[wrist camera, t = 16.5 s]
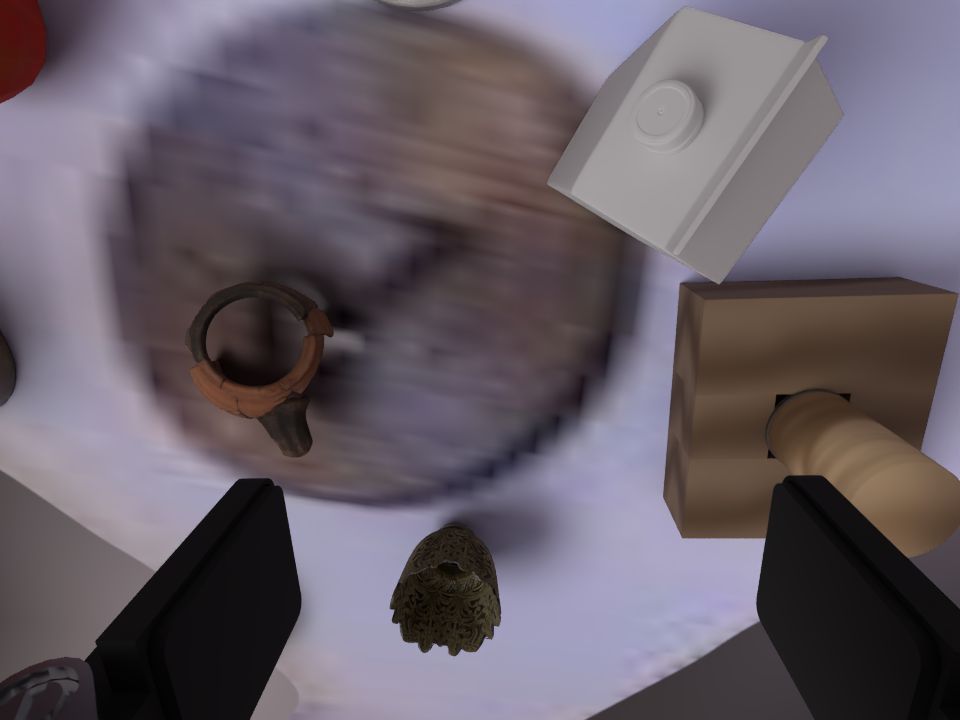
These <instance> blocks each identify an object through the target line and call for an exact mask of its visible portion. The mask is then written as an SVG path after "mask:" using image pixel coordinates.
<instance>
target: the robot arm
mask: <svg viewBox="0 0 960 720" xmlns="http://www.w3.org/2000/svg"><path fill="white" fill-rule="evenodd" d="M375 1H377V2H379V3H381V4H384V5H386V6H388V7H393V8H397V9H402V10H407V11H429V10H434V9H438V8H442V7H447V6H450V5H452V4H454V3H456V2H458V1H460V0H375ZM756 605H757V612H758V616H759V619H760V621H761V623H762V625H763V627H764V629H765V631H766V632H767V634H768V636H769V638H770V640H771V641H772V643H773V645H774V647H775V649H776V651H777V652H778V654H779V656H780V658H781V660H782V661H783V663H784V665H785V667H786V669H787V670H788V672H789V674H790V676H791V678H792V679H793V681H794V683H795V685H796V687H797V688H798V690H799V692H800V694H801V696H802V697H803V699H804V701H805V703H806V705H807V707H808V708H809V710H810V712H811V714H812V716H813V717H814V719H815V720H960V609H959V608H958V607H957V606H956V605H955V604H954V603H953V602H952V601H951V600H950V599H949V598H948V597H947V596H946V595H945V594H944V593H943V592H941V590H940V589H939V588H938V587H936V585H934V584H933V582H931V581H930V580H929V579H928V578H927V577H926V576H925V575H924V574H923V573H922V572H921V571H920V570H919V569H918V568H917V567H916V566H915V565H914V564H913V563H912V562H911V561H910V560H909V559H908V558H907V557H906V556H905V555H904V554H903V553H902V552H901V551H900V550H899V549H898V548H897V547H896V546H895V545H894V544H893V543H892V542H891V541H890V540H889V539H887V538H886V537H885V536H884V535H883V534H882V533H881V532H880V531H879V530H878V529H877V528H876V527H875V526H874V525H873V524H872V523H871V522H870V521H869V520H868V519H867V518H866V517H865V516H864V515H863V514H862V513H861V512H860V511H859V510H858V509H857V508H856V507H855V506H854V505H853V504H852V503H851V502H850V501H849V500H848V499H847V498H846V497H845V496H844V495H842V494H841V493H840V492H839V491H838V490H837V489H836V488H835V487H834V486H833V485H832V484H831V483H830V482H829V481H828V480H827V479H826V478H825V477H823V476H821V475H788V476H786V477H785V478H784V480H783V482H782V483H777V484H776V485H775V486H774V489H773V494H772V500H771V507H770V514H769V520H768V527H767V533H766V540H765V547H764V553H763V560H762V566H761V573H760V580H759V586H758V593H757V601H756ZM300 610H301V592H300V586H299V580H298V575H297V569H296V563H295V558H294V552H293V546H292V540H291V535H290V529H289V523H288V518H287V512H286V506H285V500H284V495H283V491H282V488H281V487H280V486H274V483H273V481H272V480H271V479H269V478H249V479H239V480H238V481H236V482H235V483H234V485H233V486H232V487H231V488H230V489H229V490H228V491H227V493H226V494H225V495H224V496H223V497H222V498H221V499H220V500H219V502H218V503H217V504H216V505H215V506H214V507H213V508H212V510H211V511H210V512H209V513H208V514H207V515H206V516H205V517H204V519H203V520H202V521H201V522H200V523H199V524H198V525H197V527H196V528H195V529H194V530H193V531H192V532H191V533H190V534H189V536H188V537H187V538H186V539H185V540H184V541H183V542H182V544H181V545H180V546H179V547H178V548H177V549H176V550H175V551H174V553H173V554H172V555H171V556H170V557H169V558H168V559H167V561H166V562H165V563H164V564H163V565H162V566H161V567H160V568H159V570H158V571H157V572H156V573H155V574H154V575H153V576H152V578H151V579H150V580H149V581H148V582H147V583H146V584H145V585H144V587H143V588H142V589H141V590H140V591H139V592H138V593H137V595H136V596H135V597H134V598H133V599H132V600H131V601H130V602H129V604H128V605H127V606H126V607H125V608H124V609H123V610H122V612H121V613H120V614H119V615H118V616H117V617H116V618H115V619H114V621H113V622H112V623H111V624H110V625H109V626H108V627H107V629H106V630H105V631H104V632H103V633H102V634H101V635H100V636H99V638H98V639H97V640H96V641H95V642H96V645H97V647H96V648H95V649H94V651H93V652H92V653H91V654H90V655H89V656H88V657H87V659H86V660H85V661H83V660H81V659H80V658H70V657H64V658H57V659H50V660H46V661H43V662H41V663H38V664H35V665H32V666H29V667H27V668H25V669H23V670H21V671H19V672H17V673H15V674H13V675H11V676H9V677H8V678H7V679H5V680H4V681H2V682H1V683H0V720H250V718H251V716H252V714H253V711H254V710H255V707H256V705H257V703H258V701H259V699H260V697H261V695H262V693H263V691H264V689H265V686H266V684H267V682H268V680H269V678H270V676H271V674H272V672H273V670H274V668H275V665H276V663H277V661H278V659H279V657H280V655H281V653H282V651H283V649H284V647H285V644H286V642H287V640H288V638H289V636H290V634H291V632H292V630H293V628H294V625H295V623H296V621H297V619H298V617H299V614H300Z"/></svg>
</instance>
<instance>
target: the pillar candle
mask: <svg viewBox="0 0 960 720" xmlns="http://www.w3.org/2000/svg"><path fill="white" fill-rule="evenodd" d="M14 384H15V366H14V361H13V359H12V355H11V353H10V351H9V349H8V347H7V345H6V343H5V341H4V339H3V338H2V336H1V335H0V406H2V405H4V403H5V402H6V401H7V399H8V398H9V397H10V395H11V394H12V391H13V389H14Z"/></svg>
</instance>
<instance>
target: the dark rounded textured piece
mask: <svg viewBox="0 0 960 720" xmlns="http://www.w3.org/2000/svg"><path fill="white" fill-rule="evenodd" d="M390 609H393V610H394V609H395V610H394V614H393V618H392V622H393V623H396V624H398V623H399V624H400V632H401V636H402V638H403V640H404V641H405V642H408V643H415V642H416V643H418V647H419V649H420V650H421V651H422V652H423V653H426V652H428V651H429V650H431V648H432V646H433V645H434V644H432V643H435V644H437V645H438V646H439V647H442V645H446V646H448V649H449V650H448V651H449V652H448V653H449V654H450V655H452V656H456V655H458V653H459V652H460V651H461V649H462V650H464V651H466V652H476V651H477V650H478V649H479V648H480V646H481V645H482V643H483V641H484V639H485V637H488V638H486V639H491V640H492V638H493V636H494V625H495V626H499V625H500V621H501V616H500V615H501V607H500V599H499V591H498V584H497V576H496V570H495V566H494V562H493V559H492V556H491V554H490V552H489V550H488V549H487V547H486V546H485V544H484V543H483V542H482V541H481V540H480V539H479V538H477V537H476V536H475V534H474V533H473V531H472V530H471V529H470V528H468V527H467V526H465V525H462V524H457V523H453V524H448V525H445V526H443V527H442V528H440V529H439V530H438V531H436V532H433V533H431V534H429V535H428V536H426V537H425V538H424V539H423V540H422V541H421V542H420V543H419V544H418V545H417V546H416V548H415V549H414V550H413V552H412V554H411V556H410V557H409V559H408V561H407V563H406V566H405V568H404V570H403V572H402V574H401V577H400V579H399V581H398V584H397V586H396V588H395V590H394V593H393V595H392V599H391V604H390ZM398 621H399V622H398ZM431 644H432V645H431ZM430 646H431V647H430ZM429 648H430V649H429Z"/></svg>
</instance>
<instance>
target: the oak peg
mask: <svg viewBox="0 0 960 720" xmlns="http://www.w3.org/2000/svg"><path fill="white" fill-rule="evenodd" d="M765 438H766V443H767V446H768V448H769V450H770V451H771V453H772V454H773V455H774V456H775V457H776V458H777V459H778V460H779V461H780V462H781V463H782V464H783V465H784V466H785V467H786V468H787V469H788V470H789V471H790V472H791V473H792V475H821V476H823V477H825V478H826V479H827V480H828V481H829V482H830V483H831V484H832V485H833V486H834V487H835V488H836V489H837V490H838V491H839V492H840V493H841V494H842V495H844V496H845V497H846V498H847V499H848V500H849V501H850V502H851V503H852V504H853V505H854V506H855V507H856V508H857V509H858V510H859V511H860V512H861V513H862V514H863V515H864V516H865V517H866V518H867V519H868V520H869V521H870V522H871V523H872V524H873V525H874V526H875V527H876V528H877V529H878V530H879V531H880V532H881V533H882V534H883V535H884V536H885V537H886V538H887V539H889V540H890V541H891V542H892V543H893V544H894V545H895V546H896V547H897V548H898V549H899V550H900V551H901V552H902V553H903V554H904V555H905V556H906V557H907V558H909V557H913V556H917V555H920V554H923V553H926V552H928V551H930V550H932V549H934V548H935V547H937V546H939V545H940V544H942V543H943V542H944V541H946V539H948V538H949V537H950V536H951V535H952V534H953V533H954V531H955V530H956V529H957V527H958V526H959V525H960V481H959V480H958V478H957V477H956V476H955V475H954V474H952V473H951V472H950V471H948V470H947V469H945V468H944V467H942V466H941V465H939V464H938V463H936V462H935V461H934V460H932V459H931V458H929V457H928V456H926V455H925V454H923V453H922V452H920V451H919V450H918V449H916V448H915V447H913V446H912V445H910V444H909V443H907V442H906V441H904V440H903V439H902V438H900V437H899V436H897V435H896V434H894V433H893V432H891V431H890V430H888V429H887V428H885V427H884V426H883V425H881V424H880V423H878V422H877V421H875V420H874V419H872V418H871V417H869V416H868V415H867V414H865V413H864V412H862V411H861V410H859V409H858V408H856V407H855V406H853V405H852V404H851V403H849V402H848V401H847V400H846V399H845V398H843V397H842V396H840V395H839V394H837V393H835V392H832V391H829V390H823V389H809V390H803V391H800V392H797V393H795V394H776V400H775V407H774V410H773V411H772V413H771V414H770V416H769V418H768V421H767V423H766V428H765Z"/></svg>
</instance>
